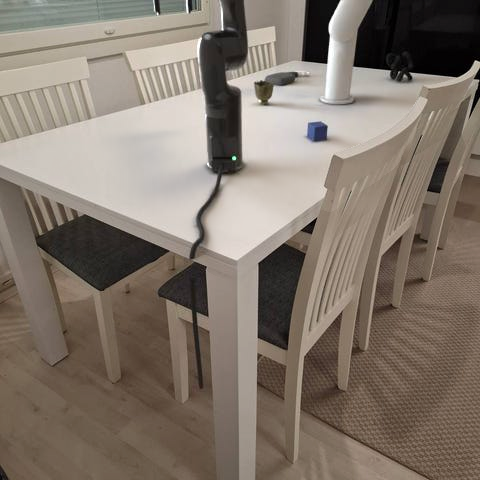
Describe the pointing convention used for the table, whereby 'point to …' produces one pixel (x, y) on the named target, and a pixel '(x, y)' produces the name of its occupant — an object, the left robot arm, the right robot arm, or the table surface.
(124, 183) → the table surface
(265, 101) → the cup
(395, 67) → the squiggle
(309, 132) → the brick
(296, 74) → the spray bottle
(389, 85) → the table surface
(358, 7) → the right robot arm
